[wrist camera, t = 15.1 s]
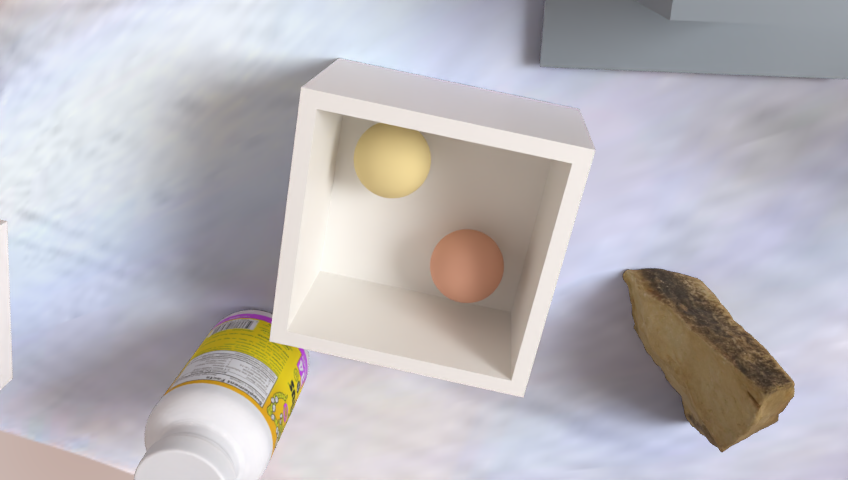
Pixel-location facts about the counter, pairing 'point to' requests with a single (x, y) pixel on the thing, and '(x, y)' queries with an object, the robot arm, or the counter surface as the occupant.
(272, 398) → the supplement bottle
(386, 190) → the ball mustard
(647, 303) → the rock
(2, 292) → the robot arm
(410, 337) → the storage box
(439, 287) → the ball terracotta
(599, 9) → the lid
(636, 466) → the counter surface
